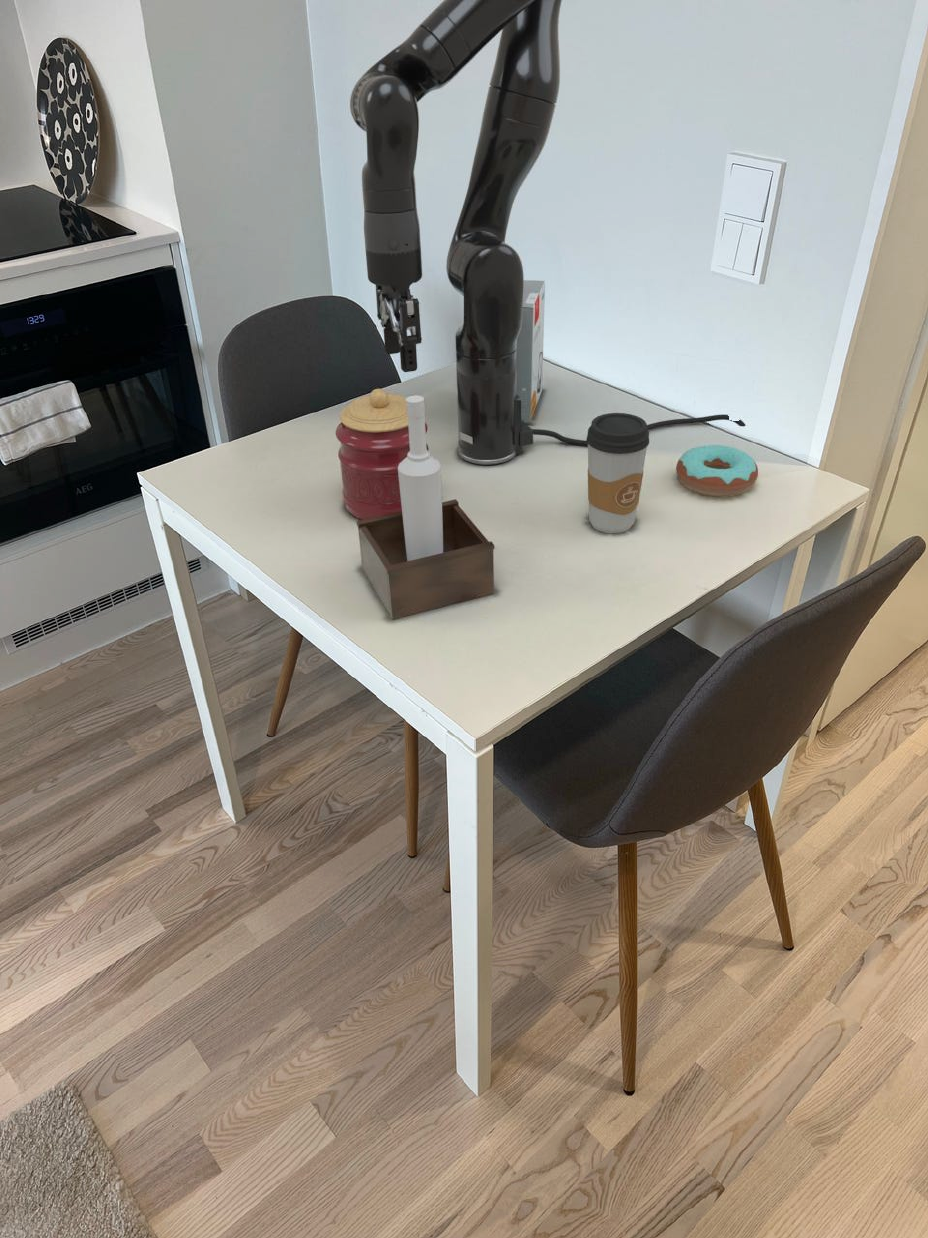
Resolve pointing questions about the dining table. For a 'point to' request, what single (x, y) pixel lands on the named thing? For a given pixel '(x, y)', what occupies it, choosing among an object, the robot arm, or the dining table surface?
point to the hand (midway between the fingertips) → (401, 361)
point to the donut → (717, 470)
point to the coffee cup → (615, 470)
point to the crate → (426, 563)
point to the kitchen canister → (373, 453)
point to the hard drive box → (530, 348)
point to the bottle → (420, 489)
